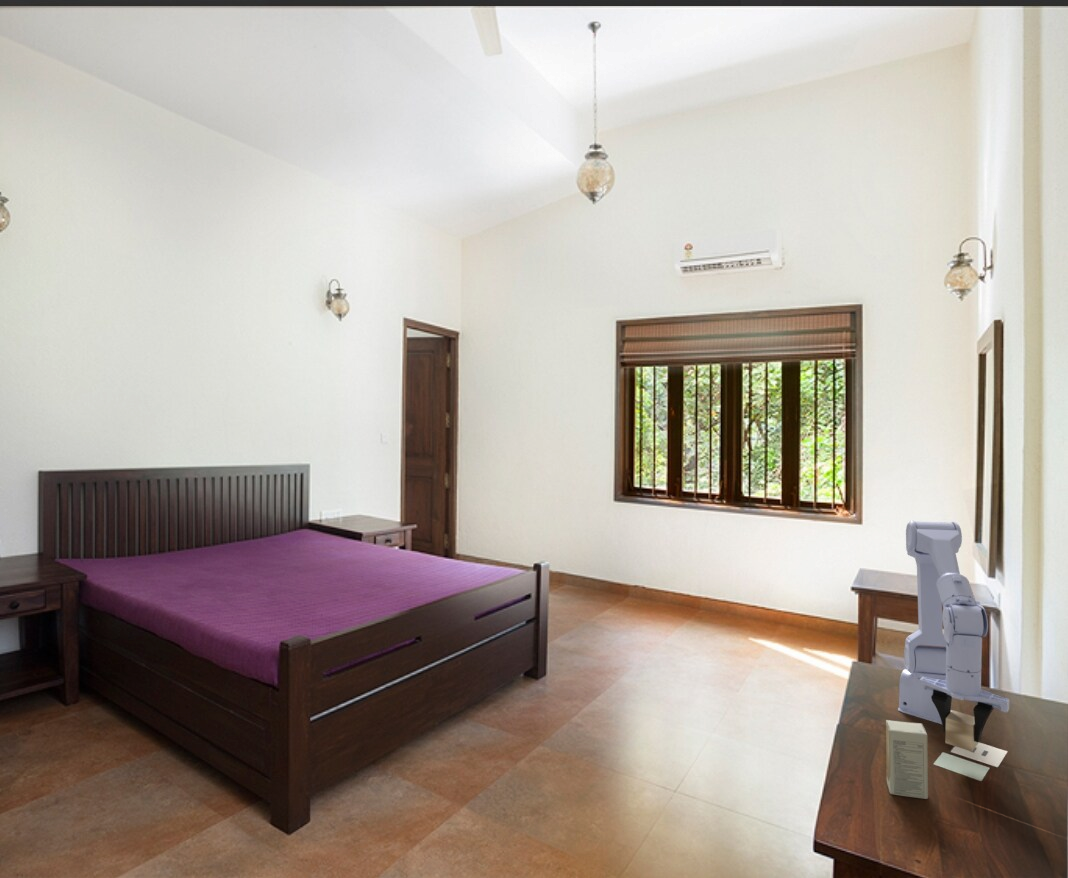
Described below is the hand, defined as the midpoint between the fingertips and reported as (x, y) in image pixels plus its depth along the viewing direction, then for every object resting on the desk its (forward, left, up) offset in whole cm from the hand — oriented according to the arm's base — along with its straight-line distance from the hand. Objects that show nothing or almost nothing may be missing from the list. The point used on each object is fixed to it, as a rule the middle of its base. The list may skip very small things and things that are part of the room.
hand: (961, 735), depth 128 cm
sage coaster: (0, 0, -6) cm, 6 cm away
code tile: (+1, +9, -6) cm, 11 cm away
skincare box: (-5, -15, -7) cm, 18 cm away
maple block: (0, 0, -2) cm, 2 cm away
